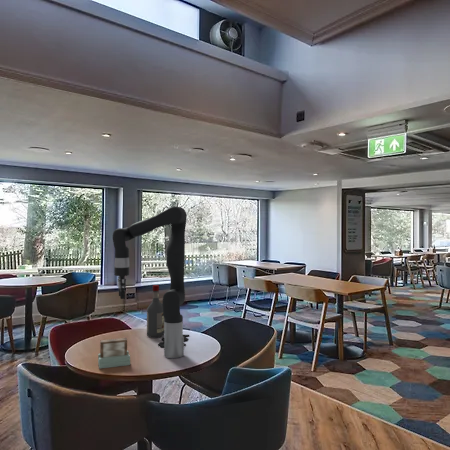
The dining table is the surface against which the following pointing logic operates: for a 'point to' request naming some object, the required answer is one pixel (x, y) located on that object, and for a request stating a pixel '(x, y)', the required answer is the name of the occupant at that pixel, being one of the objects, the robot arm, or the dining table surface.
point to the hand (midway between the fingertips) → (121, 297)
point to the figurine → (163, 340)
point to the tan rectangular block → (113, 347)
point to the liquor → (155, 316)
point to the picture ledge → (114, 361)
